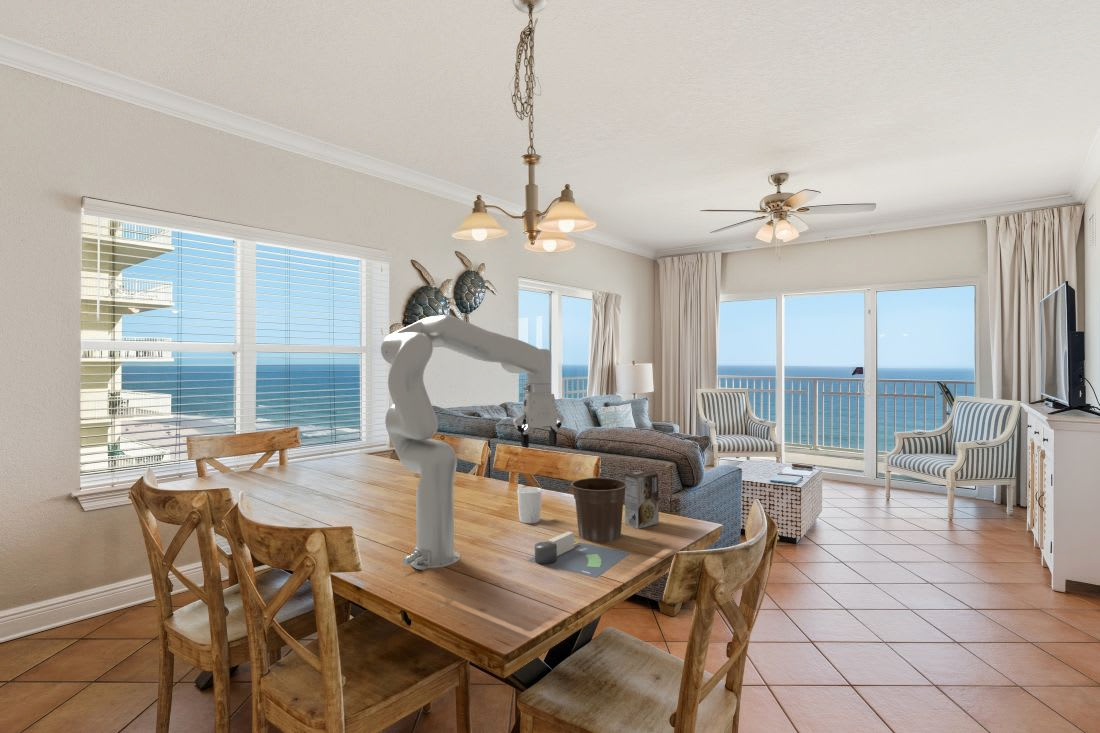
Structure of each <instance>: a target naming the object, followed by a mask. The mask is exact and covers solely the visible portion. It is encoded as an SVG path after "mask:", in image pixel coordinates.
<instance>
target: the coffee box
mask: <svg viewBox="0 0 1100 733" xmlns="http://www.w3.org/2000/svg"><path fill="white" fill-rule="evenodd" d="M624 482H626V483H627V487H626V488H625V498H624V521H625V522H624V524H625V525H626V524H627V526H629V527H632V528H634V527H635V529H636V530H639V529H643V528H646V527H650V526H654V525H657V524H659V522H660V520H659V516H660V515H659V514H660V513H659V474H658V473H657V472H653V471H650V470H646V469H645V470H639V471H632V472H629V473H625V474H624Z"/></svg>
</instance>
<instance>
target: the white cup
mask: <svg viewBox="0 0 1100 733" xmlns="http://www.w3.org/2000/svg"><path fill="white" fill-rule="evenodd" d="M542 494H543V490H542V488H540V487H535V486H525V487H524V486H523V487H520V488H517V505H518V518H519V519H518V520H519V522H520V523H522V524H536V523H540V521H541V512H542Z"/></svg>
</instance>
